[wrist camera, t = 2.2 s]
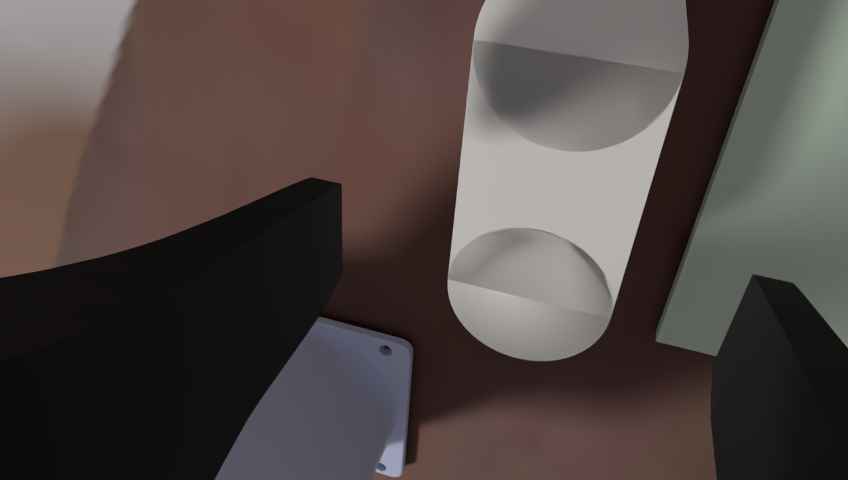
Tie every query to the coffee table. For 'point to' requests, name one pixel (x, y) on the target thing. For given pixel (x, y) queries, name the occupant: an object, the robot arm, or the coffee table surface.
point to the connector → (558, 164)
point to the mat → (775, 184)
